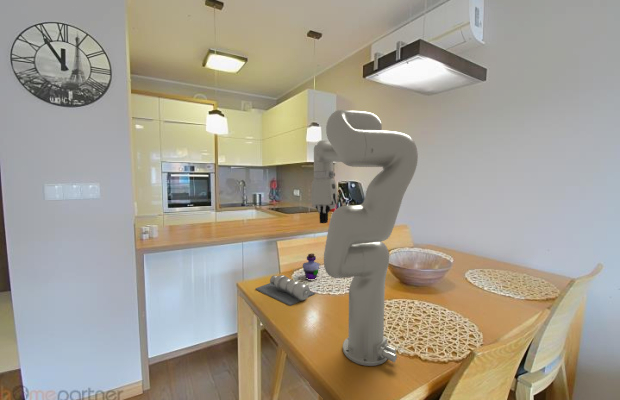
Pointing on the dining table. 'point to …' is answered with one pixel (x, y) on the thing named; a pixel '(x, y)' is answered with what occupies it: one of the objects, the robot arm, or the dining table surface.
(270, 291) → the mat
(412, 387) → the dining table surface
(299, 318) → the dining table surface
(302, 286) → the plastic bottle
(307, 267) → the potion bottle
